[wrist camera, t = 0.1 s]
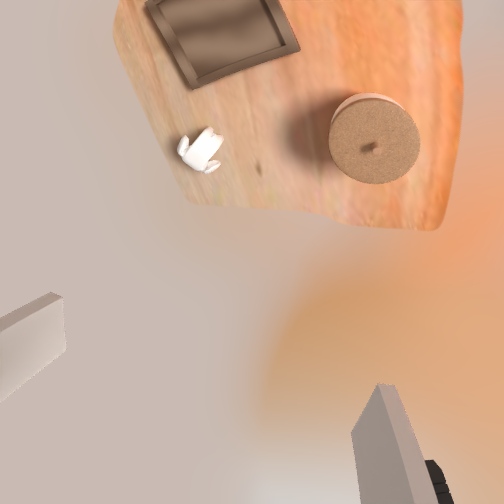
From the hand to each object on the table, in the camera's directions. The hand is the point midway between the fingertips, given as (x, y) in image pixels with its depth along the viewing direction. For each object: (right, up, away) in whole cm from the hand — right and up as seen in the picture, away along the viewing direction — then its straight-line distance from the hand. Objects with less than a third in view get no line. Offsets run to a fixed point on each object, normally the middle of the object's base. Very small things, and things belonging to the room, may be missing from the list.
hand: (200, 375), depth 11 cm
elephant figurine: (-4, +22, +33) cm, 39 cm away
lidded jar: (+17, +22, +25) cm, 37 cm away
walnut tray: (-2, +33, +18) cm, 38 cm away
